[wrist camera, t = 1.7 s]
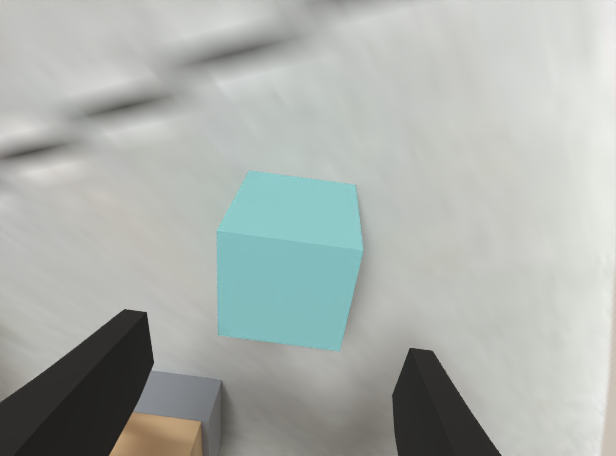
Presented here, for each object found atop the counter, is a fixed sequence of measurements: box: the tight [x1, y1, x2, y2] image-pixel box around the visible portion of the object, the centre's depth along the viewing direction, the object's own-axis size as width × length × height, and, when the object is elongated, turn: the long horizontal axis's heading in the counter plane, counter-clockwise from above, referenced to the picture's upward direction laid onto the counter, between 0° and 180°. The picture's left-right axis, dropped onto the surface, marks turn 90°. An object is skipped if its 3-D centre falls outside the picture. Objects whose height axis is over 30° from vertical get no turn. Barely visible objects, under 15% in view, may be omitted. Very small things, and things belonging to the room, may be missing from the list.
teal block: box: [217, 171, 363, 351], centre depth 15 cm, size 4×4×5 cm
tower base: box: [133, 371, 221, 456], centre depth 23 cm, size 7×7×3 cm
